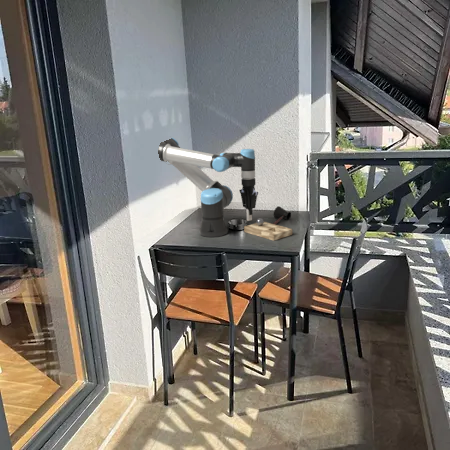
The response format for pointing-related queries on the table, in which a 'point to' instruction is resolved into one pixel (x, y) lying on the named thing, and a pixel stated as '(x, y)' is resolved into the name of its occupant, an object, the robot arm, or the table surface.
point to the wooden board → (268, 231)
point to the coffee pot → (281, 214)
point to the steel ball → (259, 221)
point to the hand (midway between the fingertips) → (249, 220)
